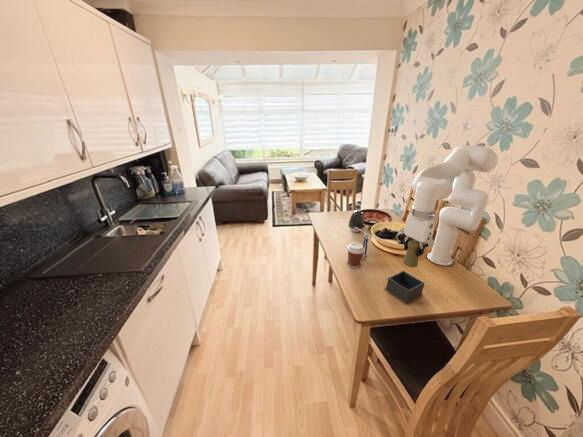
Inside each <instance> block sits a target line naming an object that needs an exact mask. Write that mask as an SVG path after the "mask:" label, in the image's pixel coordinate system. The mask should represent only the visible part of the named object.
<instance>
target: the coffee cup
mask: <svg viewBox="0 0 583 437" xmlns="http://www.w3.org/2000/svg"><path fill="white" fill-rule="evenodd" d="M346 250H347V266H349V267H350V268H353V269H356V268H357V269H358V268H359V267H360V266H361V261H362V259H363V255H364V253H365V247H363V244H361V243H360V242H351V243H350V244H349V245H347V247H346ZM363 252H364V253H363ZM362 254H363V255H362Z"/></svg>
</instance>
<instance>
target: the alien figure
mask: <svg viewBox="0 0 583 437" xmlns="http://www.w3.org/2000/svg"><path fill="white" fill-rule="evenodd" d="M356 228H357V227H355V229H356ZM363 228H364V230H363V229H362V230H360V229H359V228H358V230H360V231H359V232H361V233H363V243H362V246H363V247H364V249H365V250H364V252H363V254H362V259H364V258H365V257H367V253H368V242H369V237H371V238H373V239H375V240H377V241H379V242H380V239H379V238H378V237H376V236H374V235H372V234H370V233H368V232H369V229H370V226H369V225H365V226H364V227H363Z"/></svg>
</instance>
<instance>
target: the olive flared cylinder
mask: <svg viewBox="0 0 583 437" xmlns="http://www.w3.org/2000/svg"><path fill="white" fill-rule="evenodd" d="M419 247H420V243H419V241H418V240H415V239H410V241H409V242H408V249H407V250H406V252H405V254H404V257H403V259H402V263H403V265H405V266H407V267H409V268H417V267H418V266H419V256H417V251H418V248H419Z"/></svg>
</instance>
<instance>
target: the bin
mask: <svg viewBox="0 0 583 437" xmlns="http://www.w3.org/2000/svg"><path fill="white" fill-rule="evenodd" d="M424 287H425V282H424V281H421V279H419V278H416V277H415V276H414V275H412V274H410V273H409V272H407V271H405V270H402V271H400V272H398V273H395V274H394V275H392V276H390V277H388V278H387V282H386V287H385V290H386V291H387V292H389V293H390V294H392V295H393V296H394V297H396V298H397V299H399V300H400V301H401V302H403V303H404V304H406V305H407V304H408V303H411V302H412V301H414V300H416V299H418V298H419V297H420V296H422V294H423V290H424Z"/></svg>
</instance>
